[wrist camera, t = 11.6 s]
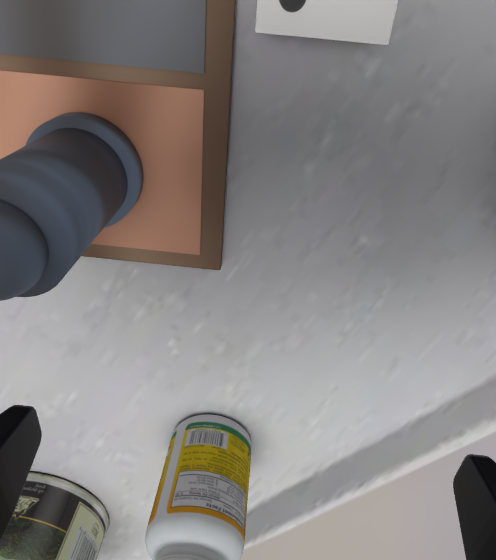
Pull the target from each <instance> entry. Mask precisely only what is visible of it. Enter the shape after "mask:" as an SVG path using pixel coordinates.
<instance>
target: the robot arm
mask: <svg viewBox="0 0 496 560" xmlns="http://www.w3.org/2000/svg"><path fill="white" fill-rule="evenodd" d="M41 436H42V434H41V428H40V424H39V420H38V417H37V413H36V410H35V409H34V408H33V407H31V406H23V405H14V406H12V407H10V408H8V409H7V410H5V411H4V412H3V413H1V414H0V541H1V538H2V536H3V534H4V532H5V530H6V528H7V526H8V524H9V522H10V520H11V518H12V516H13V513H14V511H15V508H16V506H17V503H18V501H19V498H20V495H21V493H22V490H23V487H24V485H25V482H26V479H27V477H28V474H29V471H30V469H31V466H32V463H33V461H34V458H35V455H36V453H37V450H38V447H39V445H40V442H41ZM453 488H454V495H455V500H456V505H457V511H458V516H459V522H460V528H461V533H462V539H463V544H464V550H465V555H466V560H496V463H495V462H494V461H493V460H492V459H491V458H489V457H487V456H483V455H473V454H470V455H467V456H466V457H465V459H464V460H463V462H462V464H461V466H460V468H459V469H458V471H457V473H456V475H455V477H454V481H453Z"/></svg>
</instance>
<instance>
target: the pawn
mask: <svg viewBox="0 0 496 560" xmlns="http://www.w3.org/2000/svg"><path fill="white" fill-rule="evenodd" d="M143 182H144V174H143V167H142V163H141V159H140V157H139V154H138V152H137V150H136V148H135V146H134V145H133V143H132V142H131V140H130V139H129V138H128V137H127V136H126V134H125V133H124V132H123V131H122V130H121V129H119V128H118V127H117V126H116V125H114V124H113V123H111V122H110V121H108V120H106V119H104V118H102V117H100V116H97V115H94V114H91V113H85V112H69V113H65V114H61V115H59V116H57V117H55V118H53V119H51V120H49V121H47V122H44V123H43V124H41V125H40V126H38V127H37V128H36V129H35V130H34V131H33V132H32V134H31V135H30V136H29V138H28V140H27V142H26V145H25V146H24V147H22V148H20V149H19V150H17V151H15V152H13V153H11V154H9V155H7V156H6V157H4V158H2V159H0V301H2V300H7V299H11V298H14V297H31V296H37V295H40V294H43V293H46V292H48V291H49V290H51V289H52V288H54V287H55V286H56V285H57V284H58V283H59V282H60V281H61V280H62V279H63V277H64V276H65V275H66V274H67V272H68V271H69V270H70V269H71V267H72V266H73V265H74V264H75V263H76V261H77V260H78V259H79V258H80V256H81V255H82V254H83V253H84V251H85V250H86V249H87V248H88V247H89V245H90V244H91V243H92V242H93V240H94V239H95V238H96V237H97V236H98V234H99V233H100V232H101V231H102V229H103V228H105V227H109V226H112V225H114V224H116V223H118V222H119V221H120V220H122V219H123V218H124V217H125V216H126V215H127V214H128V213H129V211H130V210H131V209H132V207H133V206H134V205H135V203H136V202H137V200H138V199H139V197H140V194H141V191H142V188H143Z"/></svg>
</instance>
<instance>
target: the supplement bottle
mask: <svg viewBox="0 0 496 560" xmlns="http://www.w3.org/2000/svg"><path fill="white" fill-rule="evenodd" d="M250 460H251V440H250V437H249V435H248V433H247V432H246V431H245V430H244V429H243V428H242V427H241V426H240V425H239V424H237V423H236V422H234V421H233V420H231V419H228V418H225V417H222V416H218V415H210V414H205V415H197V416H193V417H190V418H188V419H186V420H184V421H183V422H181V423H180V424H179V425H178V426H177V427H176V429H175V430H174V432H173V435H172V438H171V441H170V445H169V449H168V453H167V456H166V460H165V464H164V468H163V472H162V475H161V479H160V483H159V486H158V490H157V494H156V497H155V501H154V505H153V508H152V512H151V515H150V519H149V523H148V527H147V531H146V538H145V543H146V548H147V552H148V554H149V556H150V557H151V559H152V560H240V559H241V556H242V554H243V549H244V540H245V527H246V512H247V500H248V487H249V473H250Z"/></svg>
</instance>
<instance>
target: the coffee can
mask: <svg viewBox="0 0 496 560" xmlns="http://www.w3.org/2000/svg"><path fill="white" fill-rule="evenodd" d="M108 526H109V518H108V515H107V512H106V510H105V508H104V507H103V505H102V504H101V503H100V502H99V501H98V500H97V499H96V498H95V497H94V496H93V495H91V494H90V493H89V492H87V491H86V490H85V489H82V488H80V487H79V486H77V485H75V484H73V483H71V482H69V481H66V480H64V479H61V478H58V477H54V476H50V475H46V474H41V473H35V472H29V474H28V477H27V479H26V482H25V485H24V487H23V490H22V493H21V495H20V498H19V501H18V503H17V506H16V508H15V511H14V513H13V516H12V518H11V520H10V522H9V524H8V526H7V528H6V530H5V532H4V534H3V536H2V538H1V541H0V560H96V559H97V556H98V553H99V550H100V547H101V544H102V541H103V538H104V535H105V533H106V531H107V529H108Z"/></svg>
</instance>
